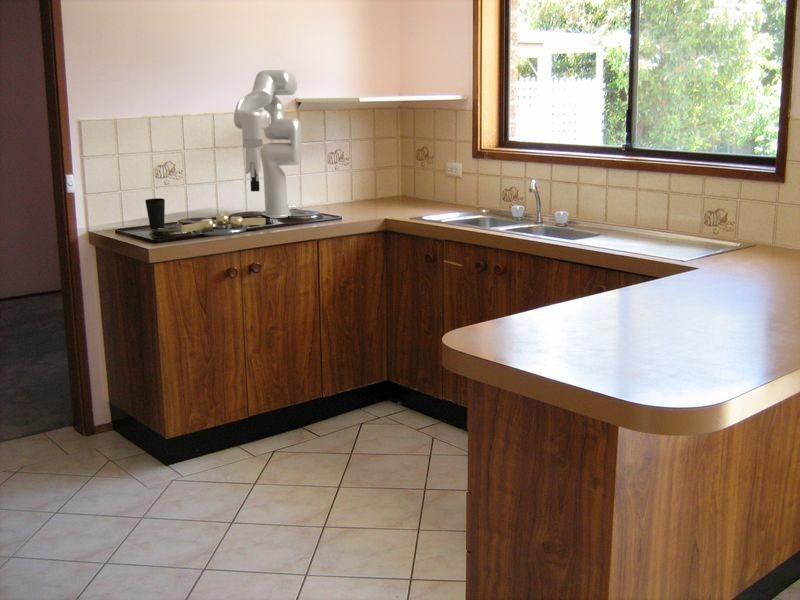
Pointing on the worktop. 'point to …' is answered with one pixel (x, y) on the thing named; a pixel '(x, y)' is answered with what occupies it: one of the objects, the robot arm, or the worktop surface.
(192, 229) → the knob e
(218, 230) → the tribrach plate
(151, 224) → the cup
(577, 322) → the worktop surface
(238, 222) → the brass lever handle
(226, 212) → the knob
